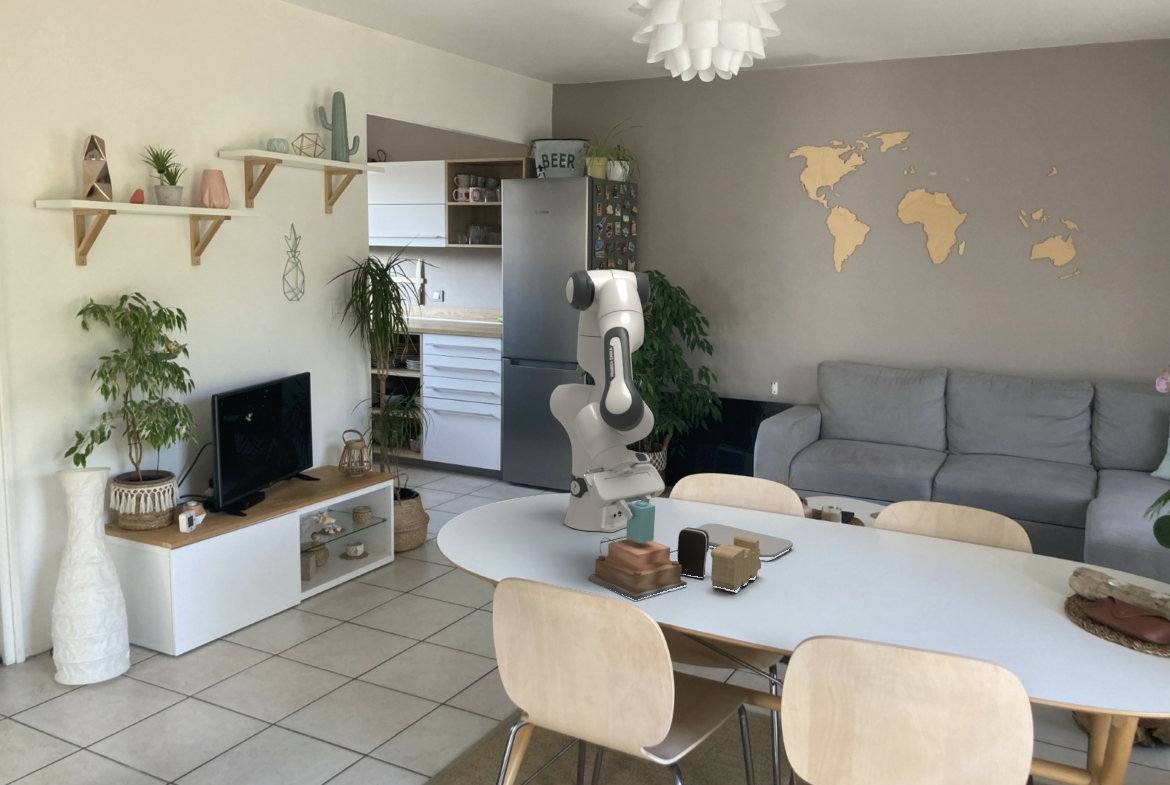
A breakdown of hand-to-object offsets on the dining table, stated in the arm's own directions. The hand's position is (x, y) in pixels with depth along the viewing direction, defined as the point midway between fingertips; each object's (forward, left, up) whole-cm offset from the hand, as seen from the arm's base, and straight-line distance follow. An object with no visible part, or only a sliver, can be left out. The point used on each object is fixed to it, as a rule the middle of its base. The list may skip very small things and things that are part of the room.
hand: (641, 516), depth 214 cm
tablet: (-42, -7, -17) cm, 46 cm away
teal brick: (0, 0, -5) cm, 5 cm away
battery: (-15, +3, -16) cm, 22 cm away
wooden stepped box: (0, 0, -16) cm, 16 cm away
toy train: (-19, +13, -16) cm, 28 cm away
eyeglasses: (-15, -15, -17) cm, 27 cm away
